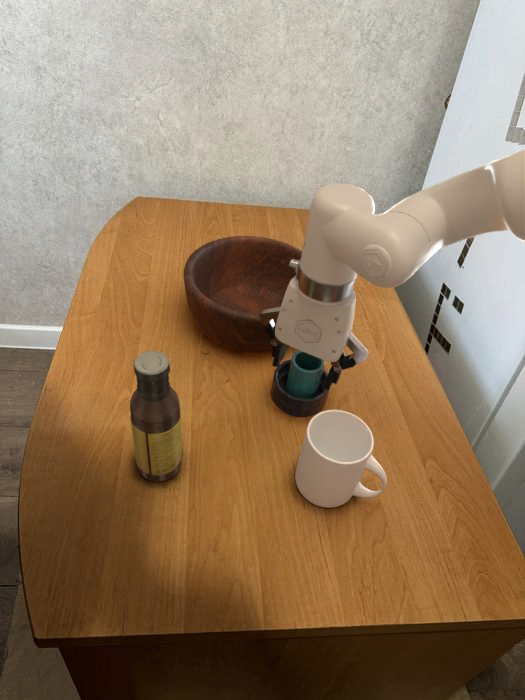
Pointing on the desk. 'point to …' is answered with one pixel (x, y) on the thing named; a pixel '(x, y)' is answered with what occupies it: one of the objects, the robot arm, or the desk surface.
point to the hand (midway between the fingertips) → (303, 372)
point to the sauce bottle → (155, 418)
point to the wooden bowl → (238, 288)
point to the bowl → (296, 404)
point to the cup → (304, 375)
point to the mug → (336, 459)
